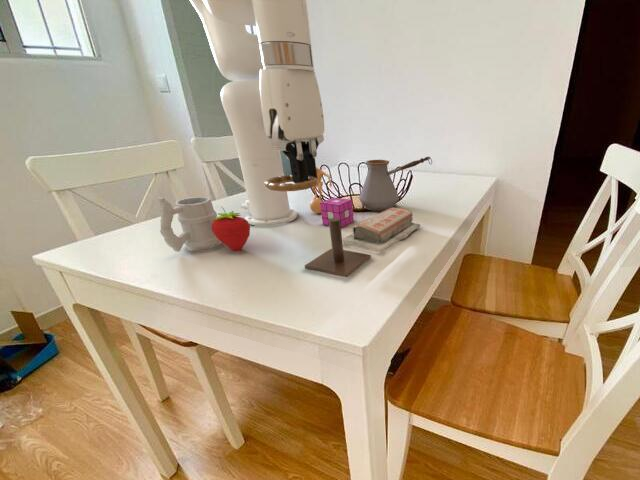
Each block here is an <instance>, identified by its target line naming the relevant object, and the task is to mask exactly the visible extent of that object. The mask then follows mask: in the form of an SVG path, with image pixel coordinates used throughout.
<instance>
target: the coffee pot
mask: <svg viewBox="0 0 640 480" xmlns="http://www.w3.org/2000/svg"><path fill="white" fill-rule="evenodd" d="M427 161H428V164H429V165H433V160H432V157H431V156H425V157H421V158H420V159H417V160H413V161H410V162H408V163H406V164H404V165H402V166H400V167H397V168H394V169H391V170H389V171H388V165H389V164H390V161H389V160H388V159H387V160H386V159H369V160H366V161H365V164H367V168H368V171H367V173H366V176H365V180H364V182H363V185H362V188H361V191H360V194H359V197H358V199H359V201H360V203H361V204H362V206H363V207H365V208H366V209H367V210H368V211H374V212H383V211H385V210H387V209H390V208H394V206H396V205H397V203H398V202H399V200H400V199H399V198H400V197H399V194H398V191H397V189H396V187H395V185H394V182H393V179H392V177H391V175H393V174H395V173H398V172H400V171H403V170H407V169H410V168H413V167H416V166H418V165H419V164H423V163H424V162H427ZM430 161H431V162H430Z"/></svg>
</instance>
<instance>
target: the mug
mask: <svg viewBox="0 0 640 480" xmlns="http://www.w3.org/2000/svg"><path fill="white" fill-rule="evenodd" d="M157 199H158V201H159V207H160V210H159V213H160V229H159V232H160V235H161V236H162V237H163V240H164V242H165V243H166V245H167V246H168V247H170V248H172V250H173V251H174V252H175V253H177V252H181V250H182V248H183V246H184V245H185V246H186V248H187V250H188V251H190V252H193V251H200V250H206V249H207V250H208V249H212V248H215V247H216V248H217V247H218V246H220V245H222V244H223V243H222V242H221V241H220V240H219V239H217V237H216V236H215V234H214V233H213V231H212V223H213V221H214V220H212V219H214V218H217V217H218V213H217V211H216V210H215V208H214V206H213V203H212V199H211V198H210V197H205V196H192V197H186V198H183V199H178V200H176V201H175V203H174V204H175V206H174V207H173V205H172V204H171V202H169V201H168V200H166V198H164V197H161V196H159V197H157ZM176 214H177V221H178V222H179V224H180V226H181V230H182V232H181V233H180V234H179V235H177V234H175V231H174V230H173V227H172V222H173V219H174V216H175V215H176Z"/></svg>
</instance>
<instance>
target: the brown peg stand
mask: <svg viewBox="0 0 640 480" xmlns="http://www.w3.org/2000/svg"><path fill="white" fill-rule="evenodd" d="M328 227H329V235H330V244H331V248H330V249H327V250H326V251H325V252H324V253H322V254H320V255H319V256H317V257H316V258H314V259H313V260H311V261H309V262H307V263H306V264H304V269H305V270H310V271H315V272H319V273H325V274H329V275H333V276H338V277H342V278H347V277H349V276H350V275H352V274H353V273H354V272H355V271H357V270H358V269H359V268H361V266H363V265H364V264H365V263H367V262H368V261H369V260H370V259H371V258H372V255H371V254H368V253H361V252H357V251H351V250H346V249H344V246H343V244H344V243H343V236H342V228H341V224H340V219H339V218H331V219H329V226H328Z"/></svg>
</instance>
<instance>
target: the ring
mask: <svg viewBox="0 0 640 480" xmlns="http://www.w3.org/2000/svg"><path fill="white" fill-rule="evenodd" d="M317 182H318V180H317V178H315V177H313V176H310V175H309V181H305V182H300V183H294V182H293V179H292V174H284V176H278V177H274V178H270V179H268V180H267V181H266V182H265V187H267V188H268V189H270V190H273V191H287V192H298V191H304V190H309V189H312V188H313V187H315V186H316V184H317ZM280 183H285V184H280Z"/></svg>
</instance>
